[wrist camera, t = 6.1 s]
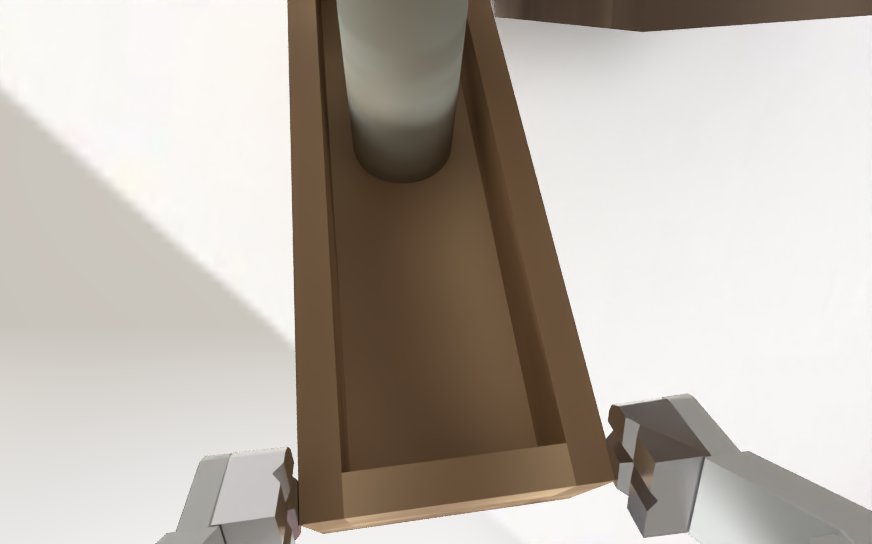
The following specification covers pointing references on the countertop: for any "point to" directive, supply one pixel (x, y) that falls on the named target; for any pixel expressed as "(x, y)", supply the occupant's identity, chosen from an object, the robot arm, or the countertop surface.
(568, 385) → the teak tray
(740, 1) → the brown wooden side table
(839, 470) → the countertop surface
